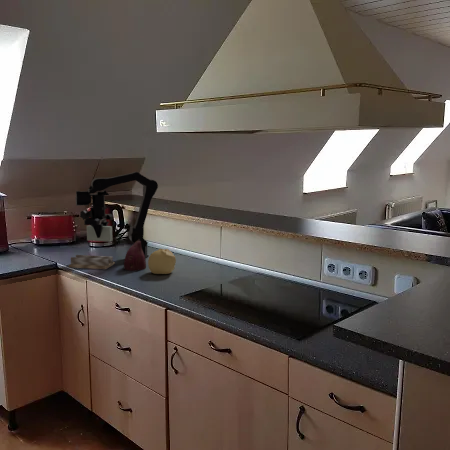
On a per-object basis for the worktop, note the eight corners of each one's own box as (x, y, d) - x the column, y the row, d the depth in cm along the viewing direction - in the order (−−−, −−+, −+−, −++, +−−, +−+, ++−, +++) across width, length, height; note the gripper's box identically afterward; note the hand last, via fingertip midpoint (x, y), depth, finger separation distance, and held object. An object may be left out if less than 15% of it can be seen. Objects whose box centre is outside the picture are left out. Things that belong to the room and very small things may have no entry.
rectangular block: (112, 240, 231) (112, 226, 230) (110, 241, 229) (109, 227, 227) (89, 239, 233) (88, 225, 232) (87, 240, 231) (86, 226, 230)
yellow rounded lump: (179, 274, 208) (178, 250, 206) (151, 277, 203) (151, 252, 202) (172, 268, 218) (171, 245, 217) (145, 271, 214) (145, 247, 212)
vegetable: (149, 274, 221) (157, 243, 219) (133, 276, 213) (142, 244, 210) (133, 265, 227) (141, 235, 224) (117, 266, 218) (125, 235, 215)
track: (114, 263, 227) (114, 255, 226) (105, 269, 217) (105, 260, 216) (79, 262, 230) (79, 253, 229) (68, 267, 220) (68, 258, 220)
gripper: (92, 202, 239) (93, 233, 241) (73, 206, 221) (74, 240, 223) (113, 202, 237) (114, 234, 239) (95, 207, 219) (96, 241, 221)
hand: (99, 237), depth 231 cm, fingers closed on rectangular block, 2 cm apart
